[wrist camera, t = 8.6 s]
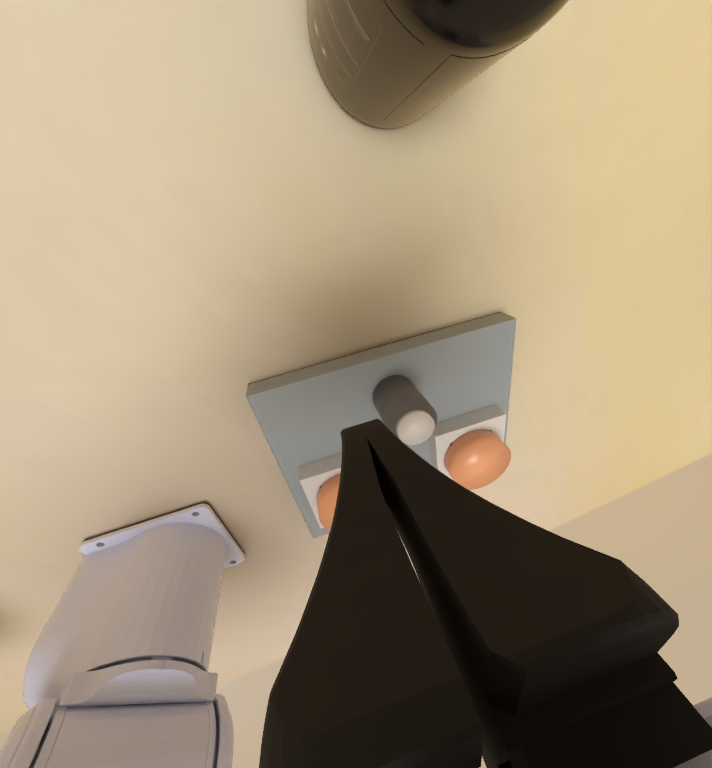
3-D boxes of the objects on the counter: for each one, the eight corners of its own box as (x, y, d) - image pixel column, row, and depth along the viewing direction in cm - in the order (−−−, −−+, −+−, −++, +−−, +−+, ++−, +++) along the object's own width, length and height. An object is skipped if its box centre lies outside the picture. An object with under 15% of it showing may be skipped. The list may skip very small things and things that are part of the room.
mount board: (311, 522, 27) (314, 552, 25) (248, 384, 19) (244, 408, 17) (492, 461, 29) (512, 483, 26) (500, 311, 21) (530, 324, 19)
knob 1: (320, 493, 26) (327, 540, 22) (305, 454, 23) (310, 500, 20) (371, 476, 26) (387, 519, 22) (361, 437, 24) (377, 478, 20)
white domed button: (376, 418, 21) (395, 456, 18) (368, 382, 20) (388, 417, 16) (416, 405, 21) (442, 441, 18) (411, 369, 20) (440, 401, 16)
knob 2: (429, 457, 27) (454, 496, 23) (425, 417, 24) (452, 453, 20) (476, 441, 27) (508, 477, 23) (477, 400, 25) (513, 433, 21)
